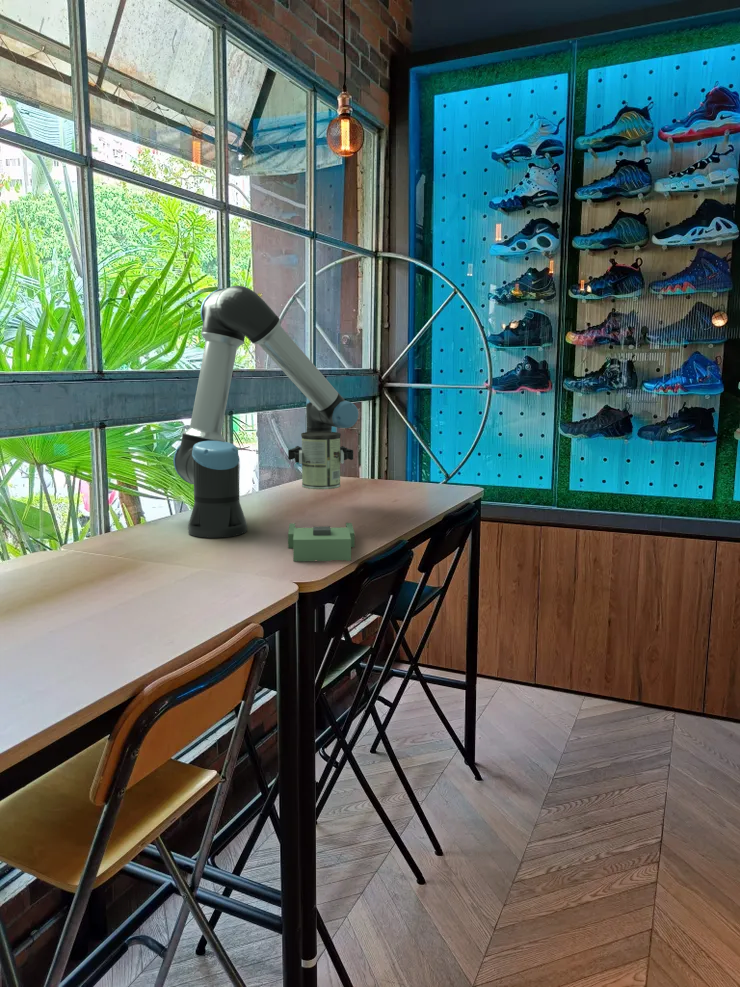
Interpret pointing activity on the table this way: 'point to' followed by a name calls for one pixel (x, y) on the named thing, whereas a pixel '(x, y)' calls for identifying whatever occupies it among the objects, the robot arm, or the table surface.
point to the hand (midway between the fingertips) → (321, 458)
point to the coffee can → (320, 460)
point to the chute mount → (321, 543)
